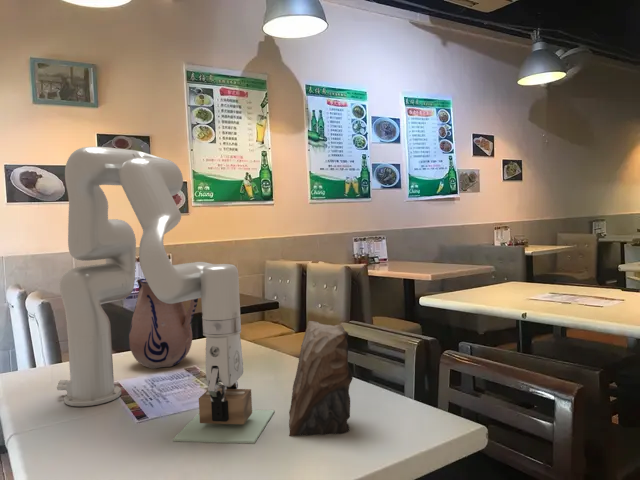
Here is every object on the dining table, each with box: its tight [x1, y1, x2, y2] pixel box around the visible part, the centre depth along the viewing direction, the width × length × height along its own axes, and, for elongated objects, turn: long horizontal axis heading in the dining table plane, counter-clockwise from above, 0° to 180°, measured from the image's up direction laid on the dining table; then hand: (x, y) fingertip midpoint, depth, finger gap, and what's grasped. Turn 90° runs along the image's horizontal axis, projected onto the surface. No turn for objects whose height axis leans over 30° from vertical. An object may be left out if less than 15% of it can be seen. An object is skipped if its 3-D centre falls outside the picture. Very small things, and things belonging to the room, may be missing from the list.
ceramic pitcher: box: [128, 278, 199, 369], centre depth 160 cm, size 18×21×25 cm
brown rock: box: [288, 320, 354, 437], centre depth 110 cm, size 13×13×20 cm
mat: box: [172, 409, 275, 444], centre depth 112 cm, size 16×16×1 cm
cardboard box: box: [198, 388, 253, 424], centre depth 112 cm, size 6×9×5 cm, turn 81°
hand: (225, 413), depth 112 cm, fingers closed on cardboard box, 5 cm apart
